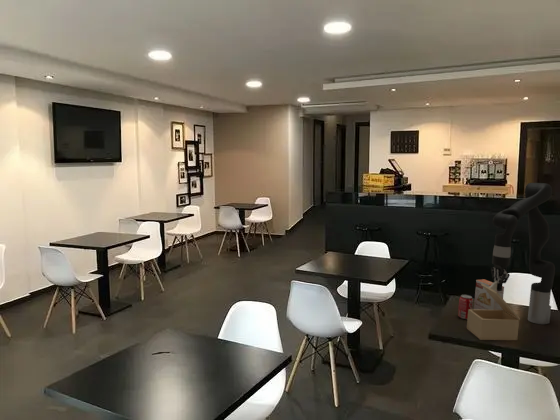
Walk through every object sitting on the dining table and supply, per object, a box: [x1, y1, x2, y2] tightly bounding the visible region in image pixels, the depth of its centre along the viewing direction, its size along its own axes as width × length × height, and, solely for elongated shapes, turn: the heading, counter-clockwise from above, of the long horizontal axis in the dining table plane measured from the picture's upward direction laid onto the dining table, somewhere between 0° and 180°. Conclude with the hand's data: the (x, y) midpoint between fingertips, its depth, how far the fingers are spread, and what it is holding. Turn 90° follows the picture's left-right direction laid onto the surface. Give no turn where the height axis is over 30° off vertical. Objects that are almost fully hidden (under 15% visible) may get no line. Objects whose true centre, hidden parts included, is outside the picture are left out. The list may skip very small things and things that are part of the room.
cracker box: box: [473, 278, 505, 310], centre depth 233 cm, size 14×6×21 cm, turn 17°
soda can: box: [457, 294, 474, 320], centre depth 237 cm, size 7×7×12 cm
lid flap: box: [481, 280, 521, 321], centre depth 215 cm, size 18×14×6 cm
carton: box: [466, 308, 520, 341], centre depth 216 cm, size 18×14×10 cm
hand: (498, 289), depth 214 cm, fingers closed
